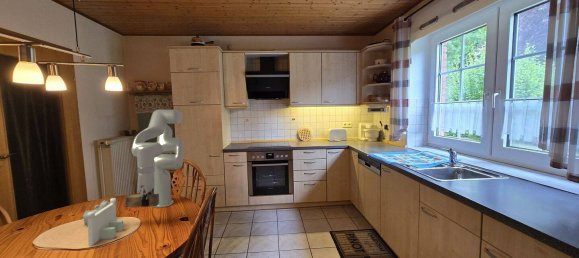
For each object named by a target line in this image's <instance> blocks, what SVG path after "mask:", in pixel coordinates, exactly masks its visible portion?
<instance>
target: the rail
mask: <svg viewBox="0 0 579 258" xmlns="http://www.w3.org/2000/svg"><path fill="white" fill-rule="evenodd" d="M144 195H146V194H144ZM148 199H149V206H148V207H152V206H157V205H158V204H159V194H154V193H152V194H148ZM124 202H125V208H142V200H141V197H140V194H138V193H137V194H128V195H127V196H125V201H124Z"/></svg>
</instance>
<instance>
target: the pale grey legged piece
mask: <svg viewBox="0 0 579 258" xmlns="http://www.w3.org/2000/svg"><path fill="white" fill-rule="evenodd" d="M109 199H110V200H109V201H110V202H109V203H110V204H109V205H108V206H106V207H104V208H103V209H101V210H100V211H98V212H97V213H95V212H89V213H88V226H87V233H88V234H87V235H88V238H87V239H88V246H89V247H90V246H91V245H93V246H94V245H95V244H96V243H97V242H98V241H100V240H112V239H114V238H115V237H116V232H122V231H123V230H124V220H123V219H122V220H121V219H120V220H117V197H112V198H109ZM91 247H92V246H91Z"/></svg>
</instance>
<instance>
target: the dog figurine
mask: <svg viewBox="0 0 579 258" xmlns="http://www.w3.org/2000/svg"><path fill="white" fill-rule="evenodd" d="M109 204H110V202H109V201H106V200H103V201H102V202H101V203H100V204H96V205H95V206H94V209H92V210H86V211H84V212H83V215H82V219H83V222H84V223H83V224H84V226H87V227H88V213H89V212H95V213H97V212H98V211H100V210H101V209H103V208H104V207H106V206H108V205H109Z"/></svg>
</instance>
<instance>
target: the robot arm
mask: <svg viewBox="0 0 579 258" xmlns="http://www.w3.org/2000/svg"><path fill="white" fill-rule="evenodd" d="M183 116H184V115H183V112H181V110H176V109H155V110H154V111H153V112H152V114H151V117H150V120H149V124H148V127H146V128H145V129H143V130H142V131H140V132H139V133H138V134H136V136H135V137H134V140H133V142H132V145H131V153H132V156H134V157H136V159H137V161H136V162H137V164H136V165H137V184H136V186H137V187H136V191H137V192H136V193H137V194H140V197H141V200H142V207H143V208H146V207H148V206H149V199H148V194H159V204H158V205H157V206H151V207H152V208H157V209H158V208H166V207H169V206H172V205H173V204H174V200H173V199H172V197H171V196H172V195H171V193H172V187H171V186H172V181H171V180H172V179H171V177H172V176H171V174H170V172H169V170H179V169H181V168H182V166H183V163H184V151H185V150H184V149H185V148H184V147H185V145H184V144H185V142H184V140H183V139H182V138H181V137H173V130H172V128H171V127H170V126H169V125H168V124H170V125H171V124H175V125H176V124H177V125H178V124H181V123H182V121H183V120H184V119H183ZM155 138H157V139H156V142H146V141H149V140H151V139H155ZM144 194H146V195H144ZM142 207H141V208H142ZM149 207H150V206H149Z"/></svg>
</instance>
